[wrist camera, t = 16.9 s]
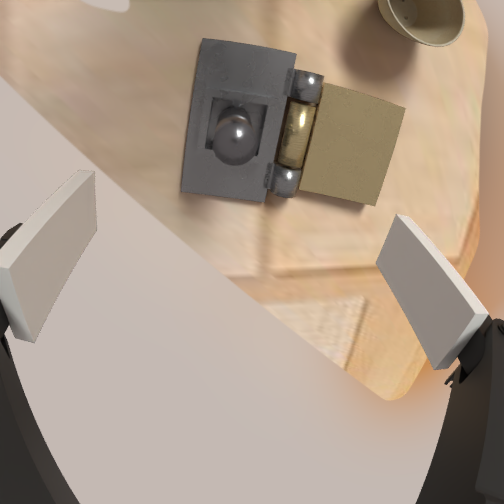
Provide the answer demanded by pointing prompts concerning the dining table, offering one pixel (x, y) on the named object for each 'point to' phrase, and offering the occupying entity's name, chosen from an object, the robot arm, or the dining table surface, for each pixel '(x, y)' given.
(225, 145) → the pin
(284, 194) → the hinge base
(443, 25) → the flower pot
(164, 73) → the dining table surface
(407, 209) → the dining table surface
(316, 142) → the brass leaf
